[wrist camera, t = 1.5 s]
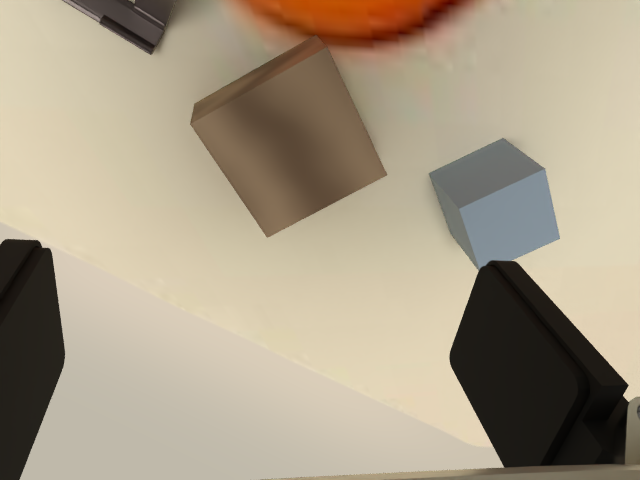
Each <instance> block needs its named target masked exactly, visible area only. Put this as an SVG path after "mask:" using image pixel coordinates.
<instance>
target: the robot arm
mask: <svg viewBox="0 0 640 480" xmlns="http://www.w3.org/2000/svg"><path fill="white" fill-rule="evenodd" d="M64 359H65V349H64V341H63V333H62V326H61V318H60V311H59V303H58V296H57V288H56V280H55V273H54V266H53V258H52V252H51V250H50V249H49V248H42V246H41V243H40V242H39V241H38V240H15V239H6V240H4V241H3V242H2V243H1V245H0V480H19V479H20V477H21V474H22V472H23V469H24V467H25V464H26V461H27V459H28V456H29V454H30V451H31V449H32V446H33V444H34V441H35V438H36V436H37V433H38V431H39V428H40V425H41V423H42V420H43V418H44V415H45V412H46V410H47V408H48V405H49V402H50V400H51V397H52V395H53V392H54V390H55V387H56V384H57V382H58V379H59V377H60V374H61V372H62V369H63V365H64ZM450 364H451V367H452V369H453V371H454V373H455V375H456V377H457V379H458V381H459V382H460V384H461V386H462V388H463V390H464V392H465V394H466V396H467V398H468V399H469V401H470V403H471V405H472V407H473V409H474V411H475V413H476V415H477V416H478V418H479V420H480V422H481V424H482V426H483V428H484V430H485V432H486V433H487V435H488V437H489V439H490V441H491V443H492V445H493V447H494V448H495V450H496V452H497V454H498V456H499V458H500V460H501V462H502V464H503V466H504V468H486V469H463V470H442V471H421V472H420V471H419V472H400V473H379V474H360V475H342V476H341V475H339V476H320V477H300V478H281V479H262V480H640V397H635V398H634V399H632V400H631V401H630V402H628V401H627V400H626V399H625V398H624V397H623V394H624V392H625V391H626V389H627V387H628V386H629V385H628V384H627V383H626V382H625V381H624V380H623V378H622V377H621V376H620V375H619V374H618V373H617V372H616V371H615V370H614V369H613V367H612V366H611V365H610V364H609V363H608V362H607V361H606V360H605V359H604V358H603V356H602V355H601V354H600V353H599V352H598V351H597V350H596V349H595V348H594V347H593V345H592V344H591V343H590V342H589V341H588V340H587V339H586V338H585V337H584V336H583V334H582V333H581V332H580V331H579V330H578V329H577V328H576V327H575V326H574V325H573V323H572V322H571V321H570V320H569V319H568V318H567V317H566V316H565V315H564V314H563V312H562V311H561V310H560V309H559V308H558V307H557V306H556V305H555V304H554V303H553V301H552V300H551V299H550V298H549V297H548V296H547V295H546V294H545V293H544V292H543V290H542V289H541V288H540V287H539V286H538V285H537V284H536V283H535V282H534V281H533V279H532V278H531V277H530V276H529V275H528V274H527V273H526V272H525V271H524V270H523V268H522V267H521V266H520V265H519V264H518V263H517V262H515V261H500V260H491V261H489V262H488V263H487V264H486V266H482V267H481V268H480V270H479V272H478V275H477V277H476V280H475V283H474V286H473V289H472V291H471V294H470V297H469V300H468V303H467V306H466V308H465V311H464V314H463V317H462V320H461V323H460V325H459V328H458V331H457V334H456V337H455V339H454V342H453V345H452V348H451V351H450Z"/></svg>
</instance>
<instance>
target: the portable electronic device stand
mask: <svg viewBox="0 0 640 480" xmlns="http://www.w3.org/2000/svg"><path fill="white" fill-rule="evenodd" d="M62 1H64V2H66V3H67V4H69V5H71V6H72V7H74V8H76V9H77V10H79V11H81V12H82V13H84V14H86V15H87V16H89V17H91V18H92V19H94V20H96V21H97V22H99V23H100V25H102V26H103V27H105V28H107V29H108V30H110V31H112V32H114V33H115V34H117V35H119V36H120V37H122V38H124V39H125V40H127V41H129V42H130V43H132V44H134V45H135V46H137V47H139V48H140V49H142V50H144V51H145V52H147V53H149V54H150V55H152V54H153V52H154V50H155V48H156V47H157V45H158V43H159V41H160V39H161V37H162V35H163V33H164V31H165V29H166V27H167V24H168V21H169V19H170V16H171V13H172V11H173V8H174V5H175V3H176V0H135V4H133V3H131V2H130V1H128V0H62Z"/></svg>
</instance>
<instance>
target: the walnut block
mask: <svg viewBox="0 0 640 480" xmlns="http://www.w3.org/2000/svg"><path fill="white" fill-rule="evenodd" d="M190 125H191V126H192V127H193V129H194V130H195V132H196V133H197V135H198V136H199V138H200V139H201V141H202V142H203V144H204V145H205V147H206V148H207V150H208V151H209V153H210V154H211V155H212V157H213V158H214V160H215V161H216V163H217V164H218V166H219V167H220V169H221V170H222V172H223V173H224V175H225V176H226V178H227V179H228V181H229V182H230V183H231V185H232V186H233V188H234V189H235V191H236V192H237V194H238V195H239V197H240V198H241V200H242V201H243V203H244V204H245V206H246V207H247V209H248V210H249V211H250V213H251V214H252V216H253V217H254V219H255V220H256V222H257V223H258V225H259V226H260V228H261V229H262V231H263V232H264V234H265V235H266V237H267V238H268V237H270V236H272V235H273V234H275V233H277V232H279V231H281V230H283V229H285V228H287V227H289V226H291V225H293V224H294V223H296V222H298V221H300V220H302V219H304V218H306V217H308V216H310V215H312V214H314V213H315V212H317V211H319V210H321V209H323V208H325V207H327V206H329V205H331V204H333V203H335V202H336V201H338V200H340V199H342V198H344V197H346V196H348V195H350V194H352V193H354V192H356V191H357V190H359V189H361V188H363V187H365V186H367V185H369V184H371V183H373V182H375V181H377V180H378V179H380V178H382V177H384V176H386V175H387V173H386V171H385V169H384V167H383V165H382V163H381V161H380V159H379V156H378V154H377V152H376V150H375V148H374V146H373V144H372V141H371V139H370V137H369V135H368V133H367V131H366V129H365V127H364V124H363V122H362V120H361V118H360V116H359V114H358V112H357V110H356V107H355V105H354V103H353V101H352V99H351V97H350V95H349V92H348V90H347V88H346V86H345V84H344V82H343V80H342V78H341V75H340V73H339V71H338V69H337V67H336V65H335V63H334V61H333V58H332V56H331V54H330V52H329V50H328V48H327V46H326V45H325V44H324V43H323V42H322V41H321V40H320V39H319V37H318V36H317V35H315V36H313V37H311V38H310V39H308V40H306V41H304V42H303V43H301V44H299V45H297V46H295V47H294V48H292V49H290V50H288V51H287V52H285V53H283V54H281V55H280V56H278V57H276V58H274V59H273V60H271V61H269V62H267V63H266V64H264V65H262V66H260V67H259V68H257V69H255V70H253V71H252V72H250V73H248V74H246V75H244V76H243V77H241V78H239V79H237V80H236V81H234V82H232V83H230V84H229V85H227V86H225V87H223V88H222V89H220V90H218V91H216V92H215V93H213V94H211V95H209V96H208V97H206V98H204V99H202V100H200V101H199V102H197V103H195V104H194V109H193V113H192V118H191V123H190Z"/></svg>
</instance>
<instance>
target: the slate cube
mask: <svg viewBox="0 0 640 480" xmlns="http://www.w3.org/2000/svg"><path fill="white" fill-rule="evenodd" d="M429 175H430V178H431V181H432V183H433V186H434V189H435V192H436V194H437V197H438V200H439V203H440V205H441V208H442V211H443V214H444V216H445V219H446V222H447V225H448V228H449V230H450V233H451V235H452V236H453V237H454V239H455V240H456V241H457V243H458V244H459V245H460V247H461V248H462V249H463V251H464V252H465V253H466V255H467V256H468V257H469V259H470V260H471V261H472V263H473V264H474V265H475V267H476V268H477V269H478V271H479V270H480V268H481V267H482V266H486V264H487V263H488V262H489V261H491V260H500V261H511V260H514V259H516V258H518V257H520V256H522V255H525V254H527V253H529V252H531V251H533V250H536V249H538V248H540V247H542V246H545V245H547V244H549V243H551V242H553V241H556V240H558V239H560V236H559V232H558V227H557V222H556V218H555V213H554V208H553V204H552V199H551V194H550V190H549V185H548V180H547V176H546V171H545V168H543V167H542V166H541V165H539V164H538V163H536V162H535V161H534V160H532V159H531V158H530V157H528V156H527V155H525V154H524V153H523V152H521V151H520V150H519V149H517V148H516V147H514V146H513V145H512V144H510V143H509V142H508V141H506V140H505V139H503V138H502V139H500V140H498V141H496V142H494V143H492V144H489V145H487V146H485V147H483V148H481V149H479V150H477V151H475V152H473V153H471V154H468V155H466V156H464V157H462V158H460V159H458V160H456V161H454V162H452V163H450V164H447V165H445V166H443V167H441V168H439V169H437V170H435V171H433V172H431V173H429Z"/></svg>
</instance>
